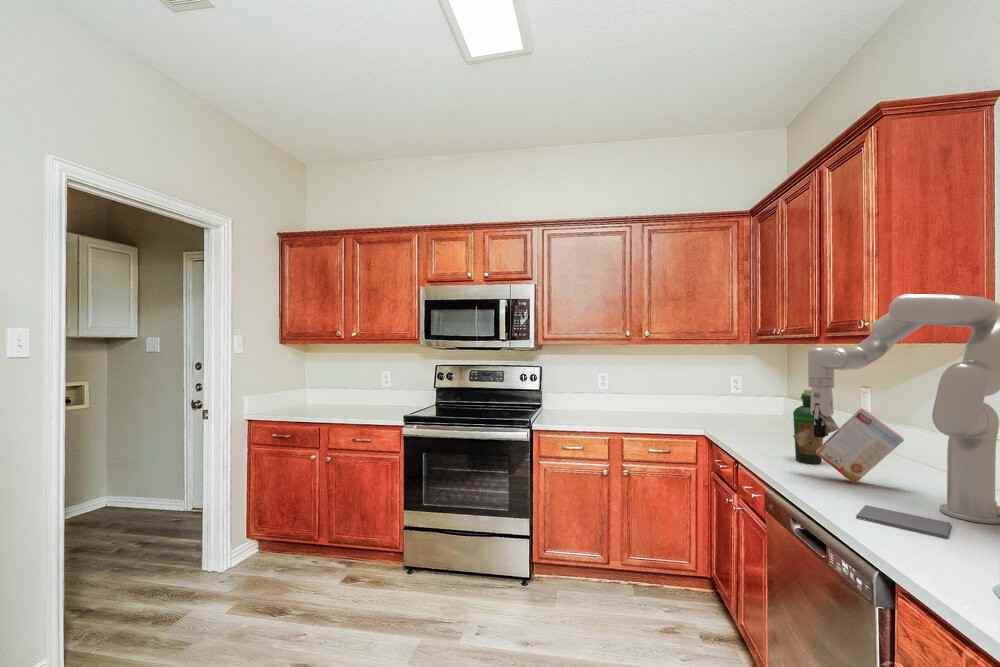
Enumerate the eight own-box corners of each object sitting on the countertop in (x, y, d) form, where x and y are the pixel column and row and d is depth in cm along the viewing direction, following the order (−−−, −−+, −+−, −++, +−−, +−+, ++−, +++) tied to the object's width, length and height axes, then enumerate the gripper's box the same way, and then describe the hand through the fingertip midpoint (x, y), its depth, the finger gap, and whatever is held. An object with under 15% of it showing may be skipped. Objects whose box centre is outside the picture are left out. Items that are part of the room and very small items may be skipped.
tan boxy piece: (797, 447, 171) (787, 431, 173) (804, 443, 176) (794, 428, 179) (833, 431, 163) (822, 415, 165) (839, 428, 168) (828, 412, 171)
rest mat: (951, 526, 126) (951, 522, 126) (947, 538, 117) (947, 535, 118) (865, 507, 139) (865, 505, 139) (856, 518, 130) (856, 515, 130)
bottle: (809, 466, 184) (810, 392, 184) (785, 459, 194) (786, 389, 195) (831, 464, 187) (832, 391, 187) (806, 457, 197) (807, 388, 198)
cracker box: (853, 480, 166) (903, 437, 159) (854, 484, 161) (905, 440, 154) (815, 450, 172) (861, 407, 165) (814, 453, 167) (862, 409, 160)
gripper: (827, 385, 161) (827, 441, 161) (839, 382, 172) (839, 434, 172) (801, 383, 166) (801, 437, 166) (814, 381, 178) (815, 431, 177)
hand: (821, 435), depth 169 cm, fingers closed on tan boxy piece, 3 cm apart
